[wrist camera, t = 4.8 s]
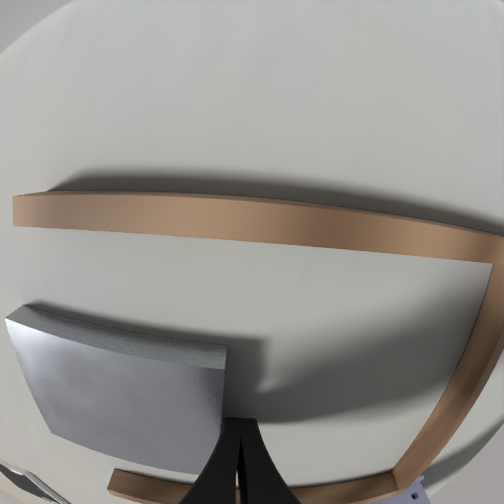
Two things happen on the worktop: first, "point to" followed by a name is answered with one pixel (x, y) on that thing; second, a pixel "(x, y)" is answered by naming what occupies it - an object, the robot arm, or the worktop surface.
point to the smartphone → (29, 482)
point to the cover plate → (123, 389)
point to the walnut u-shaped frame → (305, 234)
